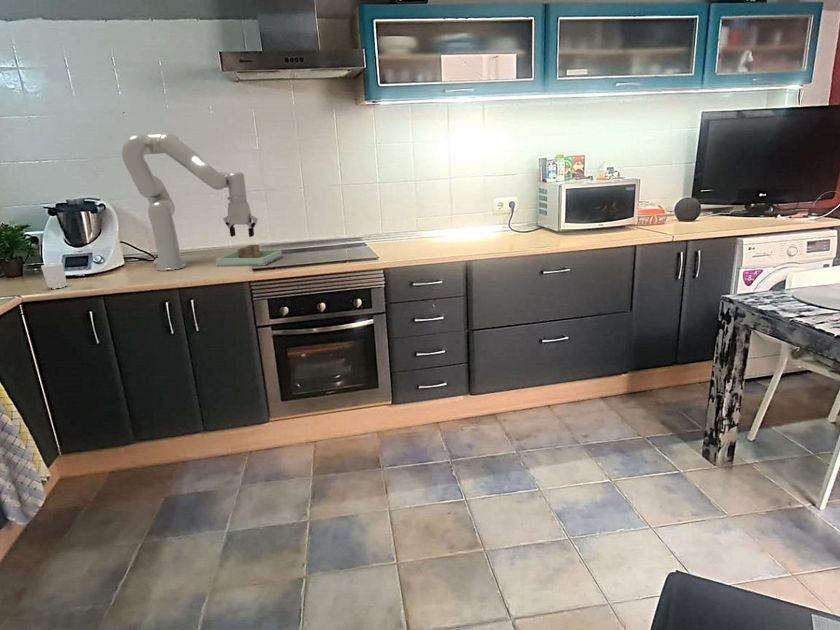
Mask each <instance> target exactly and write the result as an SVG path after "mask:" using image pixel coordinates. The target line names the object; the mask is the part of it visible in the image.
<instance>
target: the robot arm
mask: <svg viewBox="0 0 840 630" xmlns="http://www.w3.org/2000/svg"><path fill="white" fill-rule="evenodd" d="M155 154H159V155H160V154H166V155H167V156H169V158H171V159H173V160H174V161H175V162H177V163H178V164H179V165H181V166H182V167H183V168H184V169H186V170H187V171H188V172H190V173H191V174H193V175H194V176H195V177H196V178H198V179H199V180H201V181H202V182H203V183H205V184H206V185H207V186H209V187H210V188H212V189H214V190H218V191H220V190H223V189H226V188H228V195H229V196H228V197H227V200H228V201H229V202H228V204H227V205H228V206H227V215H226V216H225V217H224V218H222V219H223V220H222V221H224V223H225V225H226V226H227V227H228V229H229V235H230V237H235V236H236V228H235V225H238V226H239V225H246V226H247V227H248V229H247V230H248V237H249V238H252V237H254V234H255V229H254V228H255V226H256V225H257V222H258V220H259V219H258V218H257V217H256V216H254V215H252V212H251V207H250V203H249V202H248V200H247V199H248V198H247V190H246V189H247V188H246V181H245V175H244V173H243V172H240V171H234V172H233V171H231V172H223V171H222V172H221V171H218V170H216V168H213V167H212V166H211V165H209V164H208V163H207V162H206V161H205V160H204V159H203V158H202V157H201V155H200V154H199V153H197V152H196V151H195V150H194V149H192V148H191V147H189V146H188V145H187V144H186V143H184V142H183V141H182V140H180V139H179V137H178V136H177V135H176V134H174V133H172V132H164V133H159V134H139V133H137V134H136V133H135V134H133V135H130V136H129V137H128V138H127V139H126V140H125V141H124V143H123V145H122V149H121V156H122V161H123V162H124V165H125V167H126V169H127V171H128V172H129V175H130V177H131V179H132V181H133V183H134V185H135V187H136V189H137V191H138V193H139V194H140V195H141V196H142V197H144V198H146V199H147V201H148V202H149V206H148V209H147V214H148V219H149V221H150V224H151V229H152V233H153V238H154V242H155V247H156V252H157V257H158V259H154V260H153V262H152V264H153V265H157V267H156V269H157V271H158V270H159V271H160V272H167V270H170V271H176V270H180V268H181V269H183V268H186V267H187V264H186V263H185V262H182V258H181V257H182V256H181V251H180V250H181V249H180V246H179V241H178V235H177V230H176V226H175V222H174V218H173V216H174V214H175V210H176V207H175V203H174V202H173V200H172V197H171V196H170V194H169V192H168V190H167V188H166V186H165V184H164V183H163V181H162V180H161V179H160V178H159V177H157V176H154V174H153V172H152V170H151V168H150V166H149V164H148V163H147V161H146V160H145V157H144V156H145V155H155ZM175 269H176V270H175Z"/></svg>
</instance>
